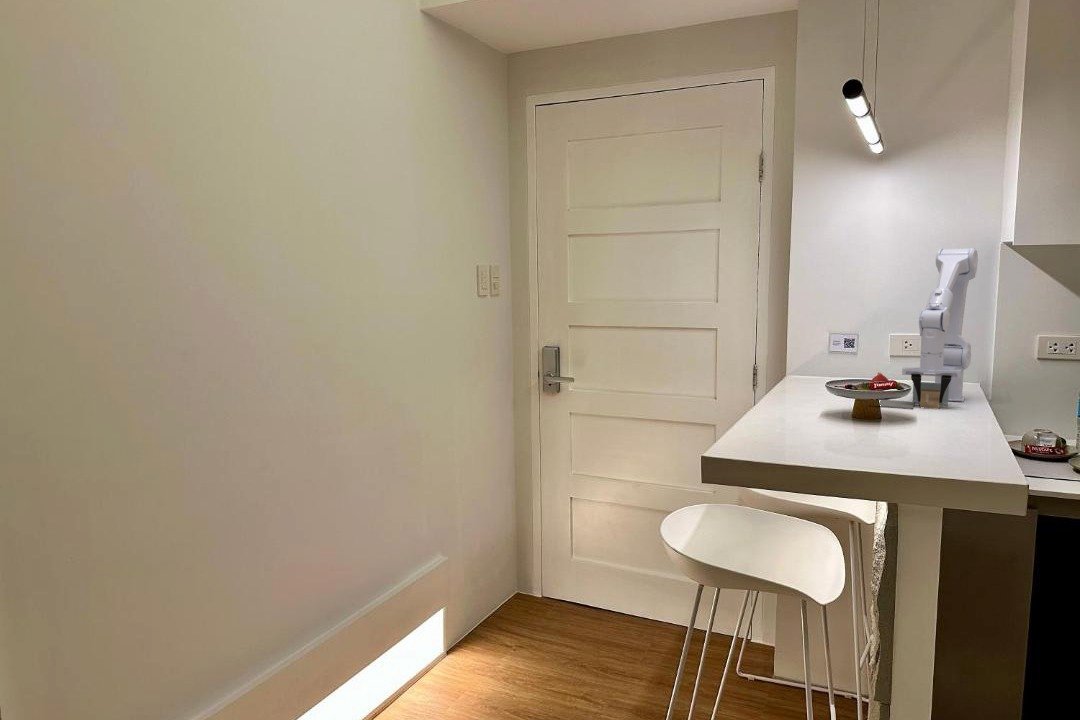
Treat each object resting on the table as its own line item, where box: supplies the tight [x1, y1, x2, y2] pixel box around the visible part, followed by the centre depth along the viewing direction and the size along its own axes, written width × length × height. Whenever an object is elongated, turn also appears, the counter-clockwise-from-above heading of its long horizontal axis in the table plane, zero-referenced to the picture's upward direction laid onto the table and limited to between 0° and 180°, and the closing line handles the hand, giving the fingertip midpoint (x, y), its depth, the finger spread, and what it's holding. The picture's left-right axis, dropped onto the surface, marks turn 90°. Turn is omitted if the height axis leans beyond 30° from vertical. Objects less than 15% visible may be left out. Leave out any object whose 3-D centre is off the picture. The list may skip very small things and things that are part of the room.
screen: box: [911, 381, 949, 406], centre depth 215 cm, size 3×9×6 cm, turn 62°
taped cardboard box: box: [919, 389, 940, 410], centre depth 210 cm, size 5×5×5 cm
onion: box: [869, 371, 890, 383], centre depth 224 cm, size 6×6×8 cm
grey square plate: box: [880, 399, 915, 410], centre depth 214 cm, size 11×11×1 cm
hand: (929, 401), depth 210 cm, fingers closed on taped cardboard box, 5 cm apart
